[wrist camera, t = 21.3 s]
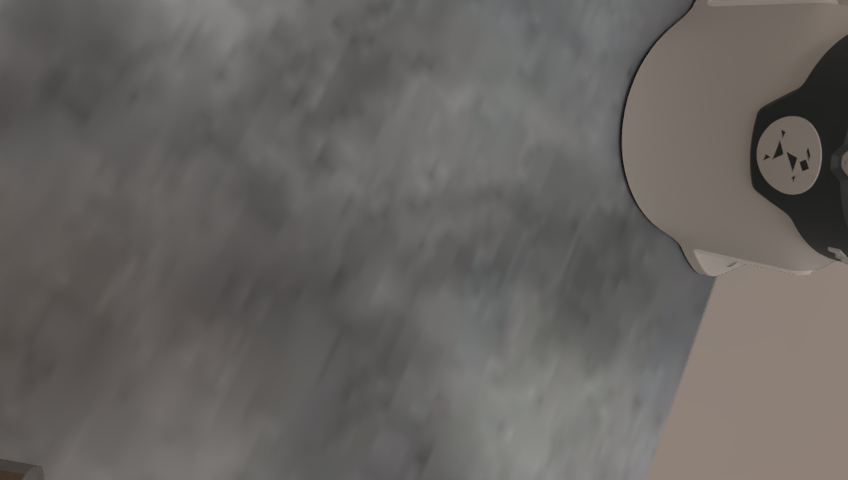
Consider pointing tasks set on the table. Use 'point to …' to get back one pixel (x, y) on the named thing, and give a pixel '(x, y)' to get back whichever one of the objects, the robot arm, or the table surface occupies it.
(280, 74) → the table surface
